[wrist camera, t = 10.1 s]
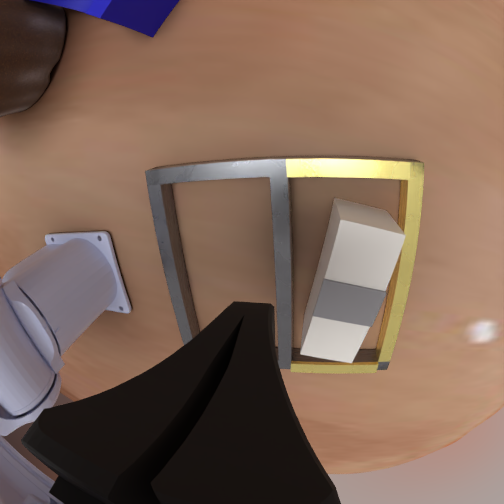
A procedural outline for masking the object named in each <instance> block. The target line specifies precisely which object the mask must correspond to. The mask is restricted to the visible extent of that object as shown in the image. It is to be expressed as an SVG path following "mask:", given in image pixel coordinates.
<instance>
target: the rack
mask: <svg viewBox="0 0 504 504" xmlns="http://www.w3.org/2000/svg"><path fill="white" fill-rule="evenodd" d="M145 173H146V180H147V186H148V192H149V198H150V204H151V210H152V215H153V220H154V226H155V231H156V236H157V240H158V245H159V250H160V254H161V259H162V263H163V268H164V272H165V276H166V280H167V285H168V289H169V293H170V296H171V300H172V304H173V308H174V312H175V315H176V319H177V323H178V326H179V330H180V333H181V337H182V340H183V343H184V345H185V344H187V343H188V342H189V341H190V340H192V339H193V338H194V337H195V336H196V335H197V334H199V333H200V330H199V326H198V322H197V318H196V313H195V309H194V305H193V300H192V295H191V291H190V286H189V281H188V276H187V272H186V266H185V261H184V256H183V251H182V246H181V240H180V234H179V229H178V223H177V217H176V211H175V205H174V198H173V192H172V185H171V183H179V182H190V181H202V180H216V179H232V178H252V177H270V188H271V204H272V220H273V238H274V257H275V277H276V300H277V325H278V347H275V351H276V356H277V360H278V364H279V368H280V369H291V372H303V373H376V371H377V370H387V368H388V365H389V362H390V359H391V356H392V353H393V349H394V346H395V343H396V339H397V336H398V332H399V329H400V325H401V321H402V317H403V313H404V309H405V305H406V301H407V296H408V292H409V287H410V282H411V277H412V272H413V266H414V261H415V255H416V248H417V241H418V234H419V226H420V218H421V208H422V196H423V181H424V163H423V162H420V161H417V160H411V159H398V158H382V157H360V156H280V157H257V158H241V159H227V160H215V161H205V162H195V163H186V164H177V165H169V166H162V167H156V168H153V169H150V170H147V171H145ZM290 177H357V178H383V179H401V186H400V204H399V217H398V226H399V227H400V228H401V230H402V231H403V232H404V233H405V235H406V237H405V240H404V243H403V245H402V248H401V251H400V254H399V257H398V260H397V262H396V265H395V268H394V270H393V273H392V276H391V280H390V286H389V292H388V297H387V302H386V307H385V312H384V317H383V322H382V326H381V330H380V335H379V339H378V343H377V347H376V349H359V350H358V352H357V354H356V356H355V358H354V360H353V362H352V363H347V362H341V361H335V360H329V359H323V358H317V357H312V356H306V355H301V354H300V350H301V349H299V348H293V247H292V214H291V190H290Z"/></svg>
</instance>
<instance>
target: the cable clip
mask: <svg viewBox="0 0 504 504" xmlns="http://www.w3.org/2000/svg"><path fill="white" fill-rule="evenodd" d="M32 1H38V2H43V3H48V4H53V5H57V6H61V7H66V8H69V9H73V10H77V11H81V12H84V13H86V14H89V15H92V16H95V17H98V18H101V19H105V20H108V21H111V22H114V23H116V24H119V25H122V26H125V27H128V28H130V29H133V30H135V31H138V32H141V33H143V34H146V35H148V36H150V37H153V36H154V35H155V33H156V32H157V30H158V29H159V28H160V26H161V25H162V23H163V22H164V20H165V19H166V18H167V16H168V15H169V14H170V12H171V11H172V9H173V8H174V7H175V6H176V4H177V3H178V2H179V0H32Z"/></svg>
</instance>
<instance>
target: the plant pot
mask: <svg viewBox="0 0 504 504" xmlns="http://www.w3.org/2000/svg"><path fill="white" fill-rule="evenodd" d="M65 31H66V17H65V12H64V9H63V8H62V7H61V6H57V5H53V4H48V3H43V2H38V1H32V0H0V117H1V116H5V115H8V114H12V113H16V112H21V111H23V110H26V109H28V108H29V107H30V106H32V105H33V104H34V103H35V102H36V101H37V100H38V99H39V98H40V96H41V95H42V94H43V92H44V91H45V89H46V87H47V86H48V84H49V82H50V72H51V70H52V68H53V67H54V65H55V64H56V63H57V62H58V61H59V59H60V56H61V52H62V48H63V44H64V39H65Z"/></svg>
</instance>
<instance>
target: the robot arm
mask: <svg viewBox="0 0 504 504" xmlns="http://www.w3.org/2000/svg"><path fill="white" fill-rule="evenodd" d="M100 236H101V238H102V239H101V238H100ZM45 241H46V244H47V245H46V246H44V247H43V248H41V249H40V250H38V251H36V252H35V253H33V254H32V255H30V256H29V257H27V258H25V259H24V260H22V261H21V262H19V263H18V264H16V265H15V266H13V267H12V268H11V269H9V270H8V271H7V272H6V274H5V275H4V277H3V279H1V277H0V504H341V503H340V500H339V497H338V494H337V490H336V487H335V485H334V484H333V482H332V481H331V479H330V477H329V476H328V474H327V473H326V471H325V470H324V468H323V466H322V465H321V463H320V461H319V460H318V458H317V456H316V454H315V452H314V451H313V449H312V447H311V445H310V443H309V441H308V440H307V437H306V435H305V433H304V431H303V429H302V427H301V425H300V423H299V420H298V418H297V416H296V414H295V412H294V409H293V407H292V404H291V402H290V399H289V396H288V394H287V391H286V388H285V385H284V382H283V379H282V375H281V372H280V368H279V364H278V360H277V356H276V351H275V319H274V306H273V305H272V304H268V303H250V302H235V301H234V302H233V303H232V304H231V305H229V306H228V307H227V308H226V309H225V310H224V311H223V312H222V313H221V314H220V315H219V316H218V317H217V318H215V319H214V320H213V321H212V322H211V323H210V324H209V325H208V326H207V327H206V328H204V329H203V330H202V331H201V332H200V333H199V334H197V335H196V336H195V337H194V338H193V339H192V340H190V341H189V342H188V343H187V344H185V345H184V346H183V347H181V348H180V349H179V350H177V351H176V352H175V353H174V354H172V355H171V356H169V357H168V358H166V359H165V360H163V361H162V362H160V363H159V364H157V365H156V366H154V367H152V368H151V369H149V370H147V371H146V372H144V373H142V374H140V375H138V376H136V377H134V378H132V379H130V380H128V381H126V382H124V383H122V384H120V385H118V386H116V387H114V388H112V389H109V390H107V391H104V392H102V393H99V394H97V395H94V396H91V397H88V398H85V399H82V400H79V401H75V402H72V403H68V404H64V405H60V406H56V407H52V406H53V405H54V403H55V402H56V400H57V397H58V395H59V392H60V387H61V376H60V374H59V373H58V372H59V370H60V369H61V368H62V367H63V366H64V365H65V364H64V362H63V360H62V359H61V356H62V355H63V354H64V353H65V351H66V350H67V349H68V348H69V347H70V346H71V345H72V344H73V343H74V342H75V341H76V340H77V338H78V337H79V336H80V335H81V334H82V333H83V332H84V331H85V330H86V329H87V328H88V327H89V326H90V325H91V324H92V323H93V322H94V321H95V320H96V319H97V317H98V316H99V315H100V314H101V313H102V312H103V311H104V310H110V311H116V312H122V313H130V311H131V310H132V309H131V305H130V302H129V299H128V296H127V293H126V290H125V287H124V284H123V281H122V277H121V274H120V270H119V267H118V264H117V260H116V256H115V253H114V249H113V245H112V241H111V237H110V235H109V233H108V232H106V231H95V232H73V233H54V234H47V235H46V236H45ZM33 421H35V422H34V423H33V424H32V426H31V427H30V428H29V430H28V431H27V432H26V434H25V435H24V437H23V438H22V439H21V441H22V444H23V445H24V446H25V447H26V448H27V449H28V450H29V451H30V452H31V453H32V454H33V455H34V456H36V457H37V458H38V459H39V460H40V461H41V462H42V463H44V464H45V465H46V466H47V467H49V468H50V469H51V470H52V471H54V472H55V473H56V474H58V475H59V476H58V478H57V479H56V481H53V480H52V479H50V478H49V477H48V476H46V475H45V474H44V473H43V472H41V471H40V470H38V469H37V468H36V467H35V466H34V465H32V464H31V463H30V462H29V461H27V460H26V459H25V458H24V457H23V456H22V455H21V454H19V453H18V452H17V451H16V450H15V449H14V448H13V447H12V446H11V445H10V444H9V443H8V442H7V441H6V440H5V439H4V438H3V437H2V436H1V435H3V436H7V435H8V434H9V433H11V432H13V431H14V430H15V429H17V428H18V427H20V426H22V425H24V424H26V423H30V422H33Z"/></svg>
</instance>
